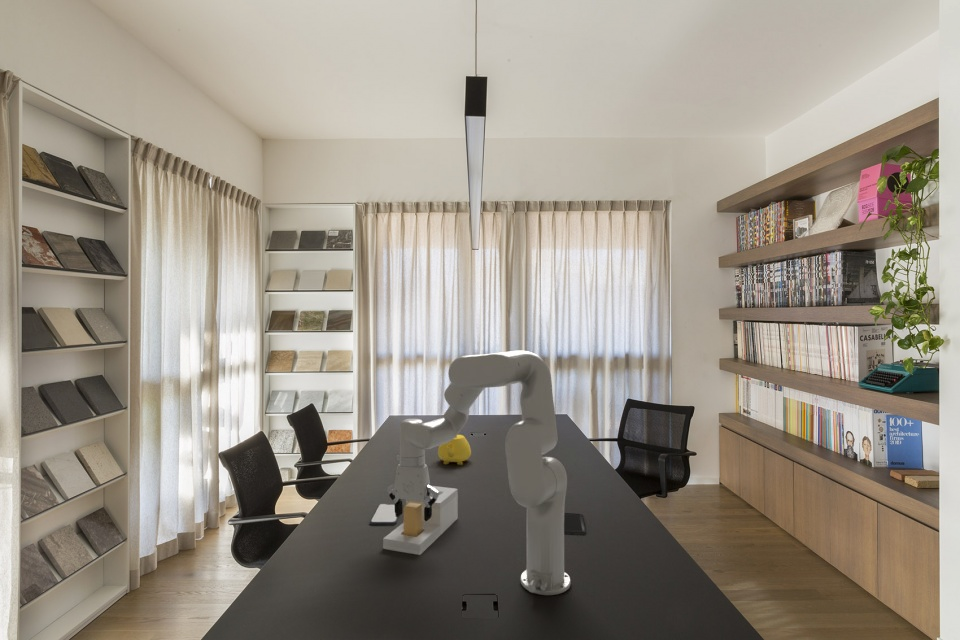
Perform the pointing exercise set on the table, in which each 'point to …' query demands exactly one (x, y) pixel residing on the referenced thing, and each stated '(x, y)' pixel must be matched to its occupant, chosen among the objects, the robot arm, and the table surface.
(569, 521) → the phone
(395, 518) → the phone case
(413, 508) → the plug
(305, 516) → the table surface
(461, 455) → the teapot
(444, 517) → the white stepped socket block
